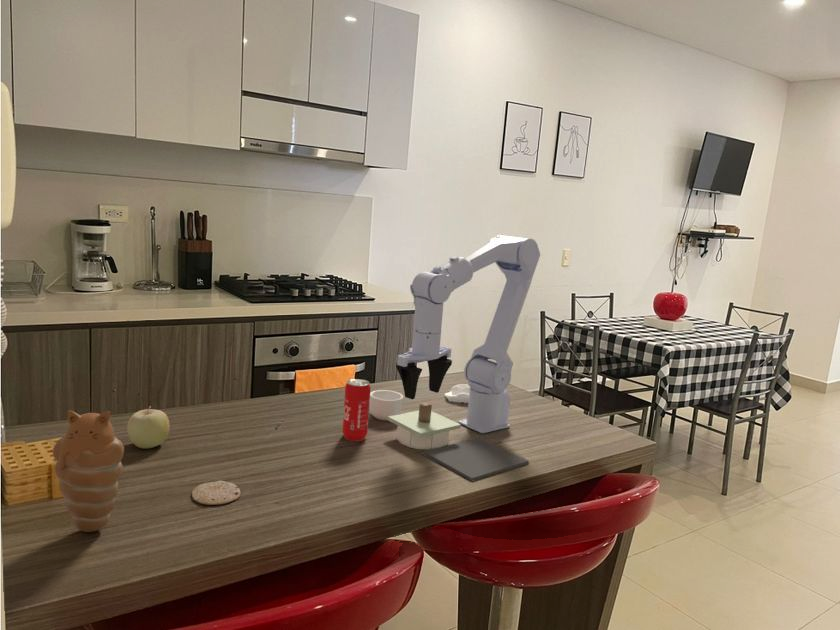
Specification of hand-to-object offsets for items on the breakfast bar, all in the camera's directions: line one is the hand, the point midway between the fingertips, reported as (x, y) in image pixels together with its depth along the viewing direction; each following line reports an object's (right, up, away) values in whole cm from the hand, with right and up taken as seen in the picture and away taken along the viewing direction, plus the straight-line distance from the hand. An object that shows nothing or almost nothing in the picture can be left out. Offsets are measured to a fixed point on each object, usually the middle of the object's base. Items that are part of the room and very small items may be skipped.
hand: (422, 394), depth 132 cm
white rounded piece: (+11, -6, +33) cm, 35 cm away
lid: (0, -7, +2) cm, 7 cm away
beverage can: (-14, -9, +1) cm, 17 cm away
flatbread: (-34, -13, -28) cm, 46 cm away
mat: (+11, -12, -5) cm, 17 cm away
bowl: (0, -10, +3) cm, 10 cm away
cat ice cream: (-47, -14, -42) cm, 65 cm away
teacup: (-9, -7, +15) cm, 19 cm away
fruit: (-52, -8, -12) cm, 54 cm away
